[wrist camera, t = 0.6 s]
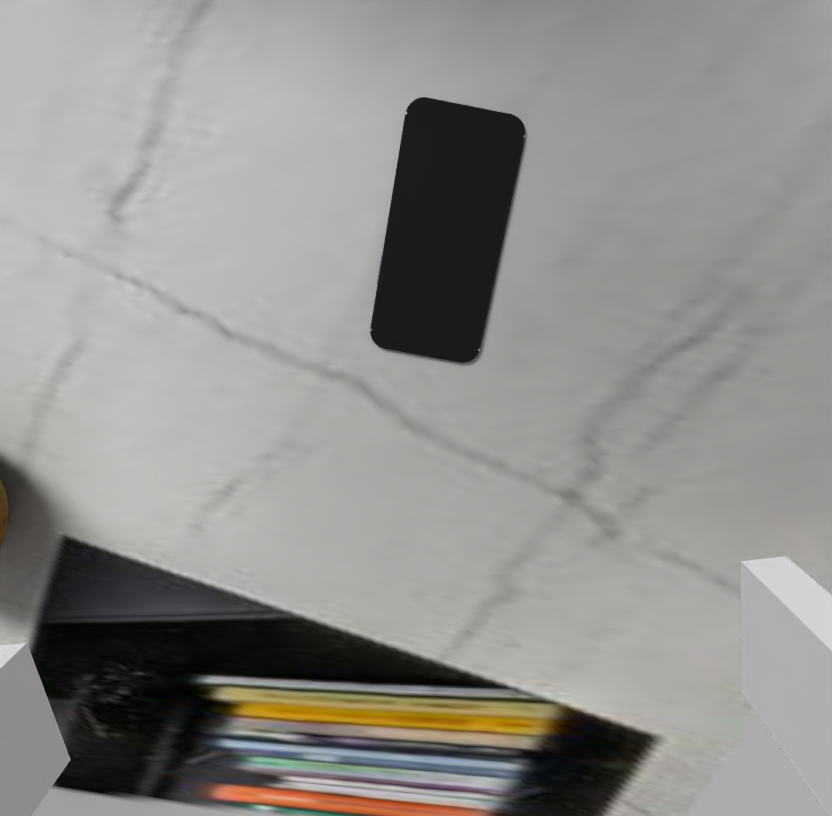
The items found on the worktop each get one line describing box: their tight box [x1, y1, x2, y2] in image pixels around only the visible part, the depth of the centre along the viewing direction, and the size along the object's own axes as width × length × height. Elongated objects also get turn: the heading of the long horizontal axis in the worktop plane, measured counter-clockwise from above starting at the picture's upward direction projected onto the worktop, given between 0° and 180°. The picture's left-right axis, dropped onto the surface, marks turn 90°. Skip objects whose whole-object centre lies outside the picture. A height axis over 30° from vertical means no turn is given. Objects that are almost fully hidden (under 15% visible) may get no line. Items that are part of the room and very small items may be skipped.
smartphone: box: [370, 97, 525, 363], centre depth 36 cm, size 7×1×15 cm
